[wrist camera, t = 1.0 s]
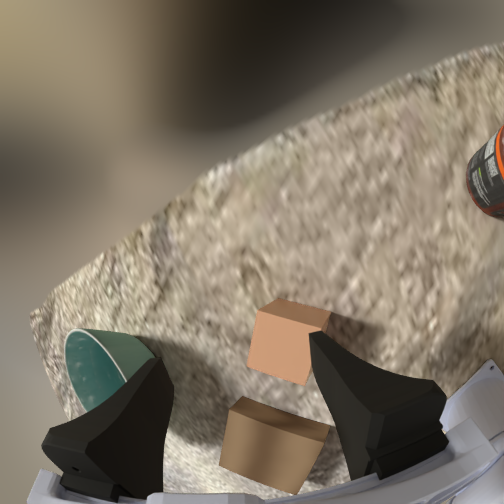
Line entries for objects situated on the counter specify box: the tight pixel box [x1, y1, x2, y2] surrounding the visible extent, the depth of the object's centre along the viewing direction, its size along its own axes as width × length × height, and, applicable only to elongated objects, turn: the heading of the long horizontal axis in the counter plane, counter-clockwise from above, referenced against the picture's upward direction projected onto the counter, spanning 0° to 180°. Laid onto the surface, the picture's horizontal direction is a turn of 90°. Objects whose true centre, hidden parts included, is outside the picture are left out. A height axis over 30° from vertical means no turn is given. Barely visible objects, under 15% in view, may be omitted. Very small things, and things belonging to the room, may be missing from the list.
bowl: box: [64, 328, 155, 412], centre depth 30 cm, size 16×16×8 cm
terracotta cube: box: [247, 298, 331, 386], centre depth 22 cm, size 5×5×5 cm
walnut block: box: [219, 396, 330, 495], centre depth 25 cm, size 10×10×3 cm
